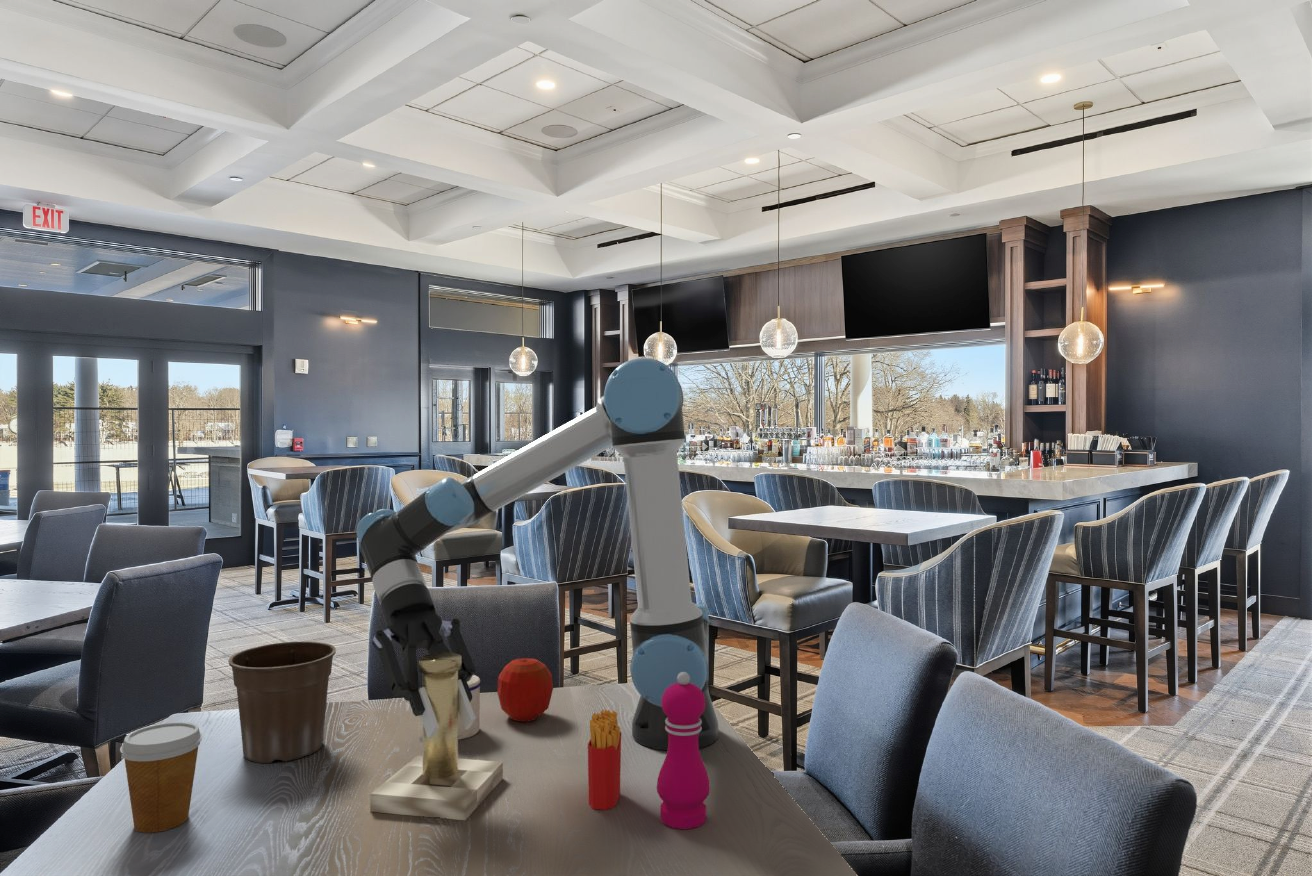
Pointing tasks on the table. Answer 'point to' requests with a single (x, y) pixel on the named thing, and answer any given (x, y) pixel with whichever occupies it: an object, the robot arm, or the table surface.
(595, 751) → the french fries
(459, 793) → the socket block
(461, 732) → the teacup with lid
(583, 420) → the robot arm
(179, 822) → the disposable coffee cup
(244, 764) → the table surface
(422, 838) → the table surface
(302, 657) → the plant pot
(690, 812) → the pepper mill
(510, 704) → the apple
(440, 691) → the gold stepped cylinder
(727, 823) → the table surface
